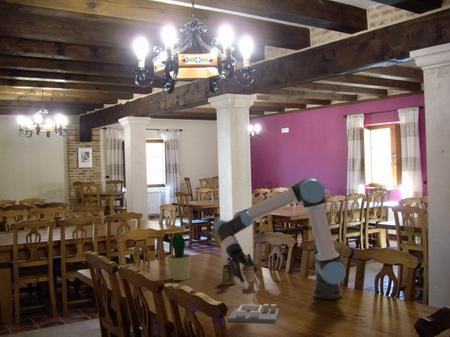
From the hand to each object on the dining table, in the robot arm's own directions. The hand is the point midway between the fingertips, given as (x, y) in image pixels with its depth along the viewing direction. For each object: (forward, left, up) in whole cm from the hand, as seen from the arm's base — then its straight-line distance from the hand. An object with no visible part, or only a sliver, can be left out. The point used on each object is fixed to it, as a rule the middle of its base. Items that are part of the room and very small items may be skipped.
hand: (253, 286), depth 228 cm
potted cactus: (+60, -76, -15) cm, 98 cm away
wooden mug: (+24, -63, -15) cm, 69 cm away
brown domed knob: (+3, -3, -4) cm, 5 cm away
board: (0, -3, -15) cm, 15 cm away
